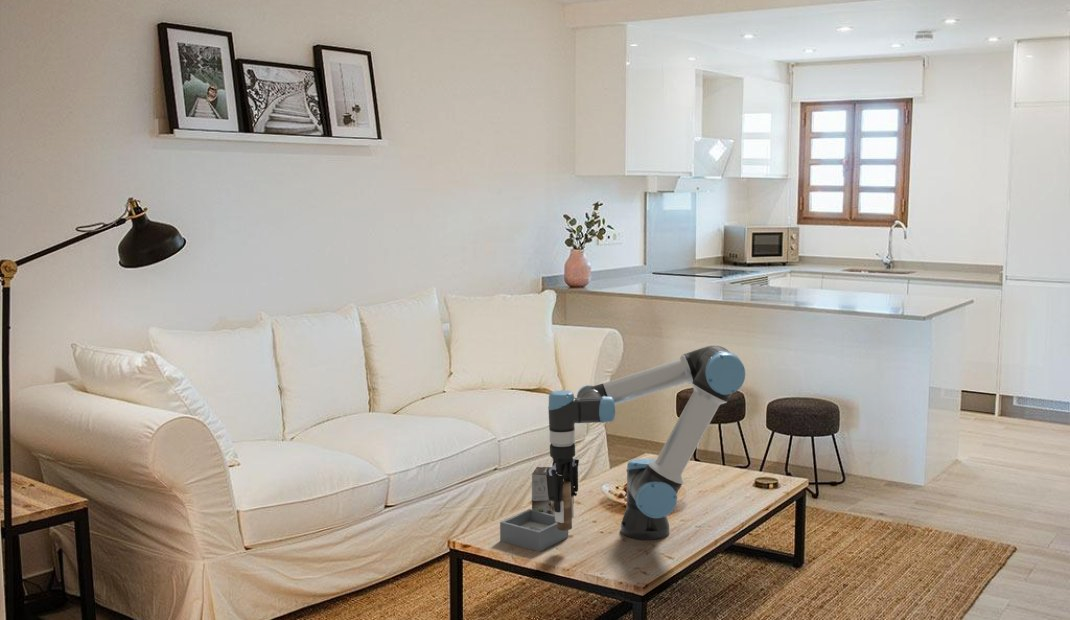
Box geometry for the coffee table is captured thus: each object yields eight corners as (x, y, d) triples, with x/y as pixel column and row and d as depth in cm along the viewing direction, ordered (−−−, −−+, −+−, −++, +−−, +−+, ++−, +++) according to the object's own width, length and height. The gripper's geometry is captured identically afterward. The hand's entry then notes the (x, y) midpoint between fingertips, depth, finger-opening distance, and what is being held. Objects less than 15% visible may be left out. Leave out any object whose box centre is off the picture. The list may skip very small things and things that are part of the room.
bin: (568, 537, 313) (568, 518, 312) (539, 551, 301) (539, 532, 300) (529, 527, 321) (529, 509, 321) (500, 540, 310) (500, 522, 309)
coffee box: (550, 523, 325) (550, 475, 323) (531, 522, 326) (531, 473, 324) (555, 514, 334) (555, 466, 331) (536, 512, 335) (536, 465, 333)
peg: (574, 527, 302) (573, 481, 300) (566, 531, 298) (565, 485, 296) (562, 524, 305) (561, 479, 303) (554, 528, 301) (553, 483, 299)
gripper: (568, 434, 307) (570, 508, 310) (534, 448, 293) (536, 525, 296) (589, 438, 302) (591, 513, 306) (555, 452, 289) (557, 530, 292)
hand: (564, 519), depth 301 cm, fingers closed on peg, 4 cm apart
